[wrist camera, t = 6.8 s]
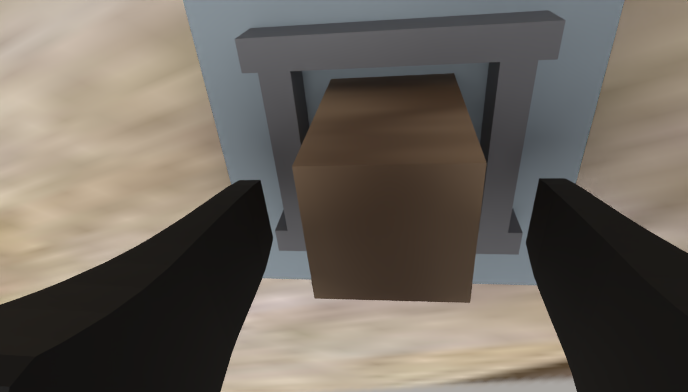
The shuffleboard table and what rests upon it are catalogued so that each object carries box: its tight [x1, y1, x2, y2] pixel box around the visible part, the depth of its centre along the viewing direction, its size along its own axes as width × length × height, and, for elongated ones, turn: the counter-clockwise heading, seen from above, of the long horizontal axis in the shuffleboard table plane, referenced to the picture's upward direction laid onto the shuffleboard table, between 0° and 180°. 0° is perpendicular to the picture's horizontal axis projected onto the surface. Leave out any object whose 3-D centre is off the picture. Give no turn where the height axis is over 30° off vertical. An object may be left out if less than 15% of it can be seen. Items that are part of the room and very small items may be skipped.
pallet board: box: [183, 0, 625, 285], centre depth 15 cm, size 13×14×2 cm
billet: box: [292, 73, 487, 303], centre depth 12 cm, size 4×4×6 cm
